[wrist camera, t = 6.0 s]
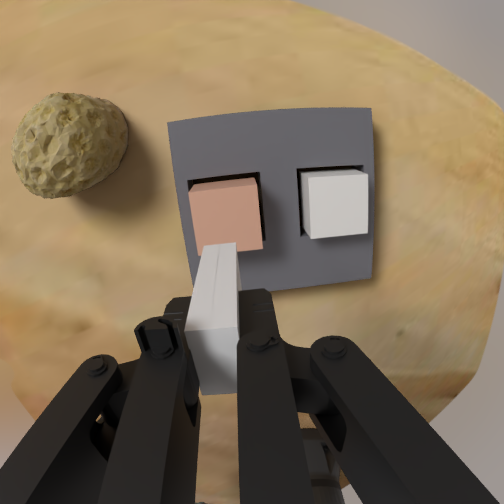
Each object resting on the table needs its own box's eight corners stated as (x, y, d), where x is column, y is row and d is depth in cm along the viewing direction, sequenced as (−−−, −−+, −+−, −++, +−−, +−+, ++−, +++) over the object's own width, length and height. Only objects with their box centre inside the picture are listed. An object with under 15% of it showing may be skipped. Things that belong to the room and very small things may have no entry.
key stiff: (259, 234, 28) (262, 248, 25) (202, 240, 28) (198, 256, 24) (254, 177, 26) (256, 184, 23) (194, 184, 26) (188, 192, 23)
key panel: (360, 265, 32) (371, 278, 30) (198, 284, 32) (195, 298, 29) (358, 109, 26) (371, 108, 24) (174, 123, 26) (167, 122, 23)
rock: (110, 192, 32) (129, 215, 24) (14, 186, 25) (-4, 209, 17) (127, 105, 29) (152, 96, 21) (28, 93, 22) (15, 79, 15)
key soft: (353, 221, 29) (367, 233, 26) (302, 226, 29) (310, 238, 26) (353, 168, 27) (368, 174, 24) (299, 171, 27) (308, 177, 24)
